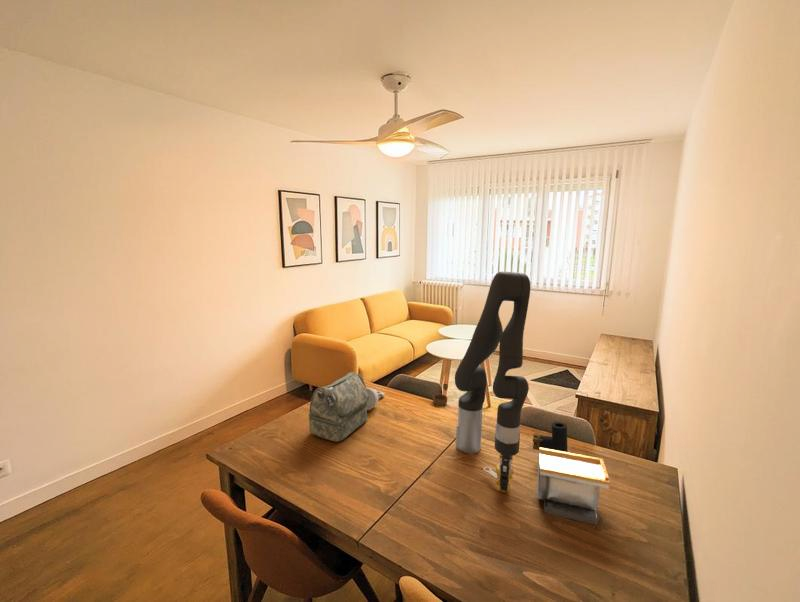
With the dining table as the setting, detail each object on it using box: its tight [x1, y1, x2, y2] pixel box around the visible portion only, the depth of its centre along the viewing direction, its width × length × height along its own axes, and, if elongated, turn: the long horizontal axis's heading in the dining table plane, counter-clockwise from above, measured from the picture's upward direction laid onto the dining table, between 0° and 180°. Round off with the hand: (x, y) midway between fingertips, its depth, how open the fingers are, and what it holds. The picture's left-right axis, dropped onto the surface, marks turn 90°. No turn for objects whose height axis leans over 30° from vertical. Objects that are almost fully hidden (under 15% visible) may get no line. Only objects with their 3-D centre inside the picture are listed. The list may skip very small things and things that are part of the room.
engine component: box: [366, 387, 386, 411], centre depth 182 cm, size 11×20×10 cm, turn 171°
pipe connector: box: [532, 421, 569, 453], centre depth 133 cm, size 12×5×15 cm, turn 65°
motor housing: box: [536, 447, 611, 526], centre depth 111 cm, size 18×12×14 cm, turn 70°
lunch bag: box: [308, 371, 369, 443], centre depth 157 cm, size 26×18×22 cm
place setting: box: [432, 383, 449, 406], centre depth 184 cm, size 18×20×6 cm
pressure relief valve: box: [482, 463, 514, 493], centre depth 121 cm, size 6×12×10 cm, turn 27°
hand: (504, 483), depth 119 cm, fingers closed on pressure relief valve, 6 cm apart
